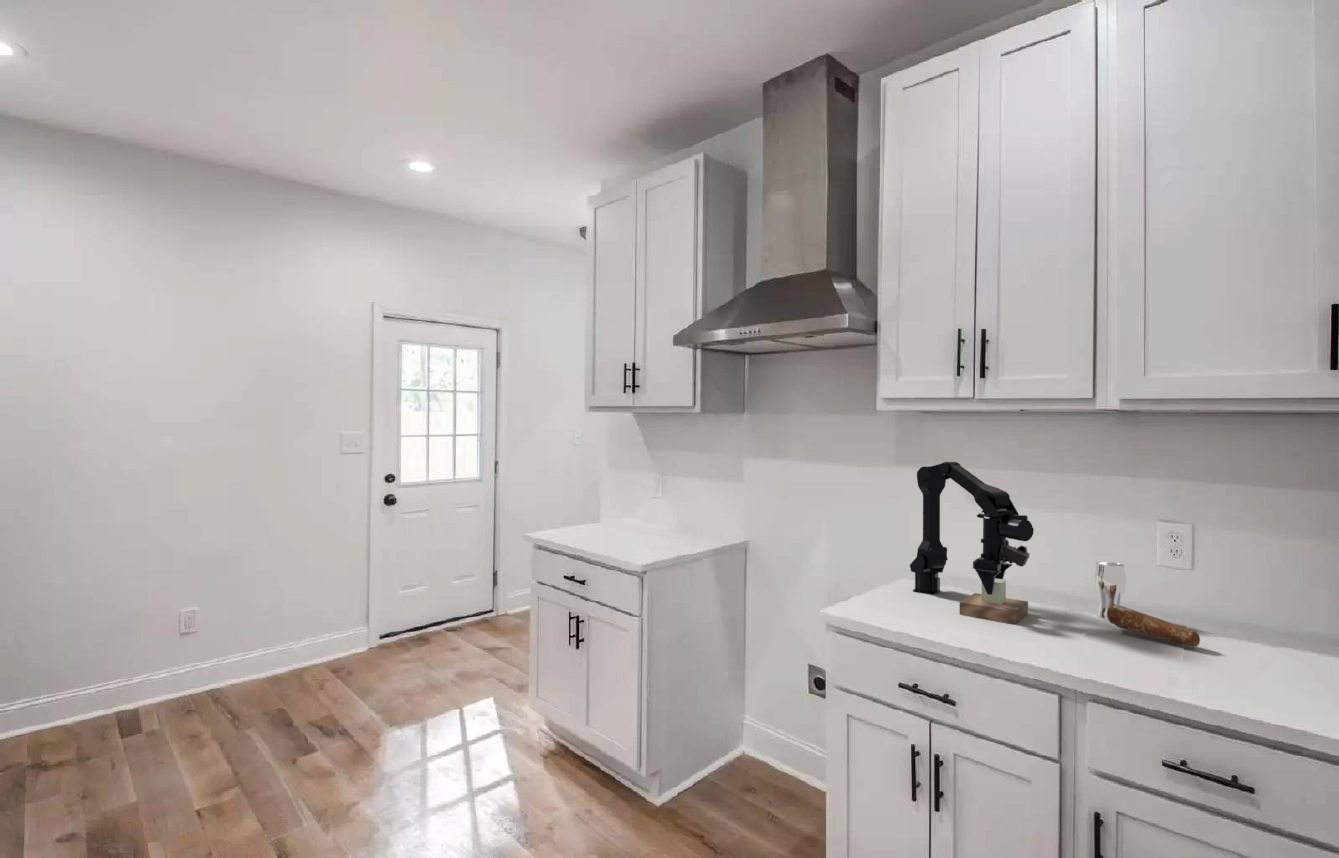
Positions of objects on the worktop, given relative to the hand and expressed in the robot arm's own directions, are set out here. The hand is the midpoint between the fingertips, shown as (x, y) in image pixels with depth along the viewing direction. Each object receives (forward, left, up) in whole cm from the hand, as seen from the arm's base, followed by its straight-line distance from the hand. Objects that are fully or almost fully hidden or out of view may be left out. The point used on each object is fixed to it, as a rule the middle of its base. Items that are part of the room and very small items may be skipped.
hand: (993, 591), depth 181 cm
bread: (+33, +3, -8) cm, 34 cm away
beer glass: (+25, +17, -6) cm, 31 cm away
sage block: (0, 0, -3) cm, 3 cm away
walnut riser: (0, 0, -7) cm, 7 cm away
